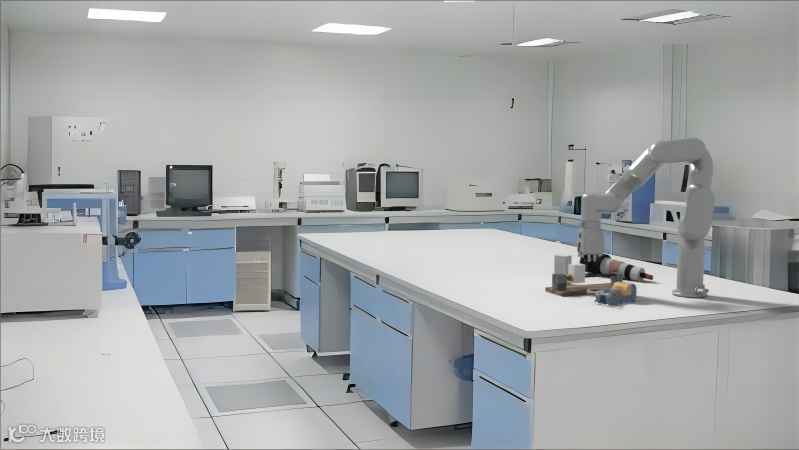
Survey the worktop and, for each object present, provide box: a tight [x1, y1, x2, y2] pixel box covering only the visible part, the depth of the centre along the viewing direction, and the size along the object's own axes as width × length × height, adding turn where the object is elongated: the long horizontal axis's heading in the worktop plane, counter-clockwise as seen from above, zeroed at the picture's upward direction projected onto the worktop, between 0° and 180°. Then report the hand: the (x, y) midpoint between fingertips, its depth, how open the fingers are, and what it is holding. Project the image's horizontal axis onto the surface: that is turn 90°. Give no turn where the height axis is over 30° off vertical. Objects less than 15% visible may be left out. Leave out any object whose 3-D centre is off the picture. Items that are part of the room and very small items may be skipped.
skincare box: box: [553, 253, 573, 285], centre depth 323 cm, size 6×4×12 cm
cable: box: [579, 253, 654, 282], centre depth 338 cm, size 10×34×10 cm
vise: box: [587, 281, 639, 306], centre depth 284 cm, size 18×10×7 cm, turn 125°
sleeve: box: [568, 262, 586, 284], centre depth 303 cm, size 4×5×7 cm
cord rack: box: [544, 272, 624, 297], centre depth 305 cm, size 12×30×8 cm, turn 111°
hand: (589, 271), depth 305 cm, fingers closed
